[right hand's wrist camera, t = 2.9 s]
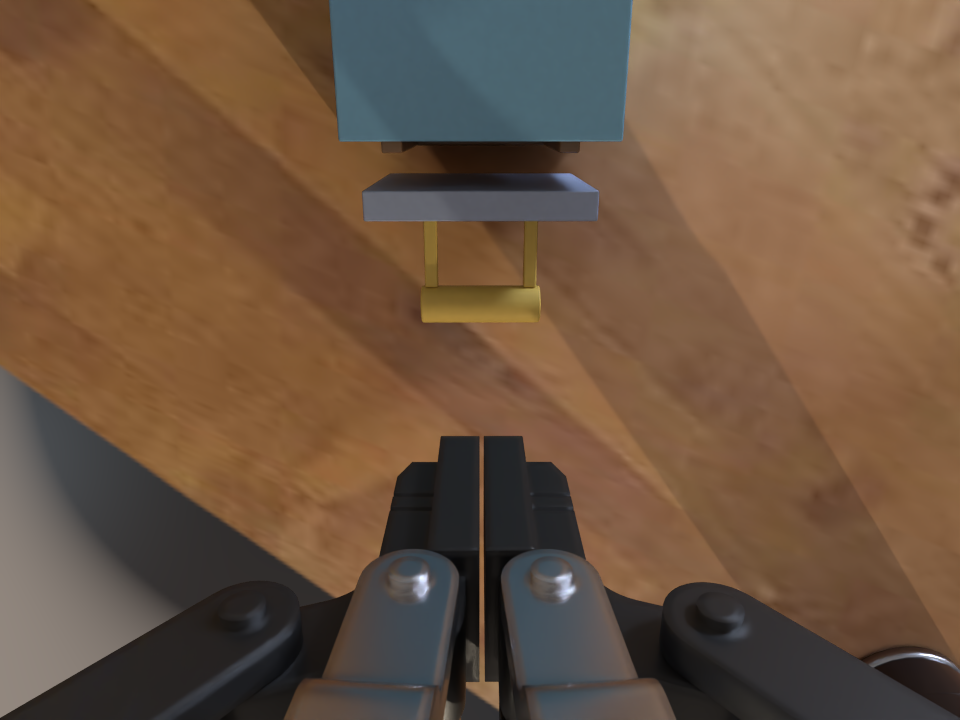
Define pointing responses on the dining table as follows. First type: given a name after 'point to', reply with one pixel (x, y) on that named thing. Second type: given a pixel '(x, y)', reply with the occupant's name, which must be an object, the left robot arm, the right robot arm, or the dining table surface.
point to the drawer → (480, 202)
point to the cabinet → (480, 69)
